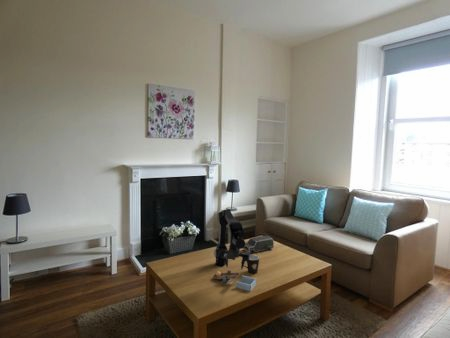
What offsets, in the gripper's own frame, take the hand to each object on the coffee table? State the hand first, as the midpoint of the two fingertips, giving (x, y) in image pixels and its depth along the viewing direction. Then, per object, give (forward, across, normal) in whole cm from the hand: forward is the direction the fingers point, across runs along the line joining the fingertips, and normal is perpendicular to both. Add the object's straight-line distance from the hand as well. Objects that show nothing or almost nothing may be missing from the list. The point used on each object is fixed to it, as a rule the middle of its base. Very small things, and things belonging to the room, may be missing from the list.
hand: (234, 268), depth 163 cm
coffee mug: (+12, +4, +24) cm, 27 cm away
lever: (+10, -7, +2) cm, 13 cm away
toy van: (+12, +1, +62) cm, 64 cm away
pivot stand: (+12, -7, +6) cm, 15 cm away
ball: (+9, -13, +7) cm, 17 cm away
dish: (+12, +6, +4) cm, 14 cm away
